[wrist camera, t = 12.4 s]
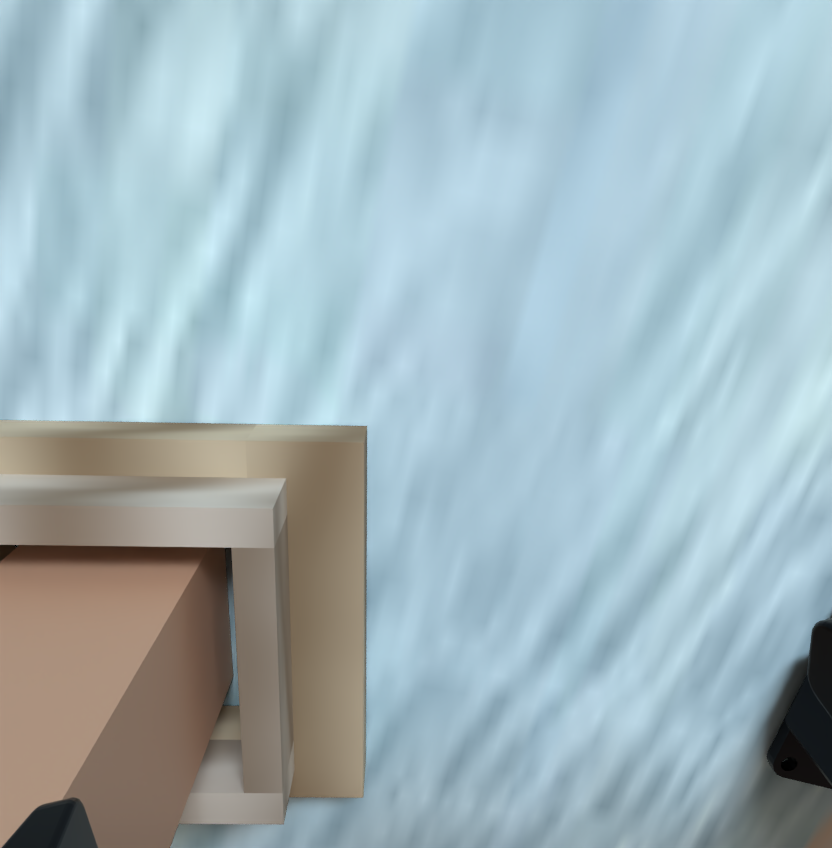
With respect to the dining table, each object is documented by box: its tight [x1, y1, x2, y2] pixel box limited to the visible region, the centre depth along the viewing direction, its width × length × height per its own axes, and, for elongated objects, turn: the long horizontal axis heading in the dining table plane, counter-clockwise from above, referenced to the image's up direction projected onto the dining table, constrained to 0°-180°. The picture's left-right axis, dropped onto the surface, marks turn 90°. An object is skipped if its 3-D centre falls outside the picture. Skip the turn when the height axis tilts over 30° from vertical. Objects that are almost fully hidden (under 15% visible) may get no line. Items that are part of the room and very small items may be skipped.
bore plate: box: [0, 420, 367, 824], centre depth 20 cm, size 13×11×4 cm
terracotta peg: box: [0, 545, 233, 848], centre depth 16 cm, size 5×5×12 cm
